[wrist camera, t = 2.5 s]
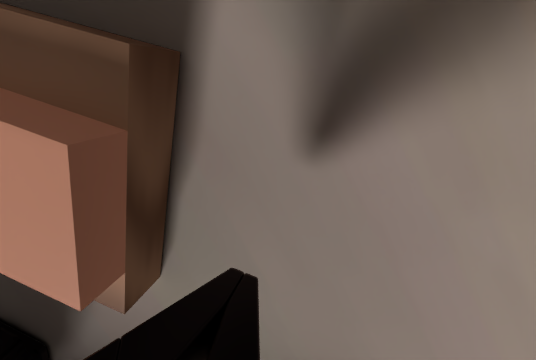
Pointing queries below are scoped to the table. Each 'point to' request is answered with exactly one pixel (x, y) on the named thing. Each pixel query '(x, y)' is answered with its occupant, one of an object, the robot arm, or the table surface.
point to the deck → (105, 116)
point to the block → (61, 200)
